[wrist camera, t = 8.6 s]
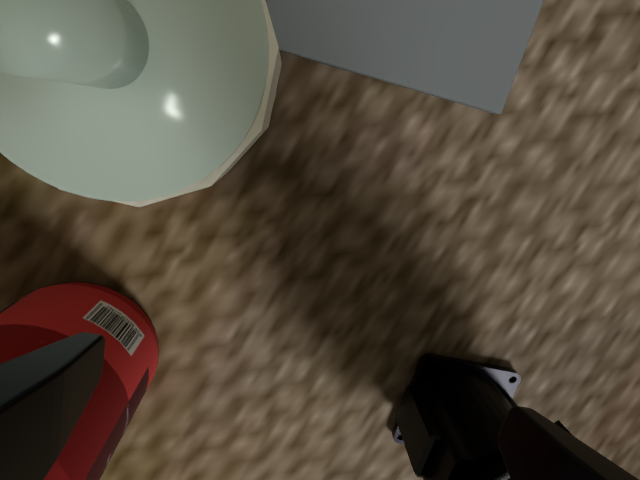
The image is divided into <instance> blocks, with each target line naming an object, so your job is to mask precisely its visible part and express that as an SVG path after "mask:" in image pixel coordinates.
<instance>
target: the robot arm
mask: <svg viewBox="0 0 640 480" xmlns="http://www.w3.org/2000/svg"><path fill="white" fill-rule="evenodd" d="M104 352H105V337H104V336H103V335H99V334H94V333H88V332H81V333H78V334H75V335H73V336H70V337H68V338H65V339H63V340H60V341H57V342H55V343H52V344H50V345H47V346H45V347H42V348H40V349H37V350H35V351H32V352H29V353H27V354H24V355H22V356H19V357H17V358H14V359H12V360H9V361H7V362H4V363H1V364H0V480H44V478H45V477H46V476H47V474H48V473H49V471H50V470H51V468H52V466H53V465H54V463H55V462H56V460H57V459H58V457H59V455H60V453H61V452H62V450H63V448H64V446H65V444H66V443H67V441H68V439H69V437H70V435H71V433H72V431H73V430H74V428H75V426H76V424H77V422H78V420H79V418H80V416H81V415H82V413H83V411H84V409H85V407H86V405H87V403H88V401H89V400H90V398H91V396H92V394H93V392H94V390H95V388H96V386H97V385H98V383H99V380H100V378H101V375H102V370H103V361H104ZM429 361H432V362H431V363H430V364H426V363H427V362H429ZM512 376H513V377H512ZM510 377H512V378H511V379H510ZM520 380H521V377H520V375H519V374H518V373H517V372H516V371H515V370H514V369H510V368H504V367H499V366H494V365H488V364H483V363H478V362H472V361H467V360H462V359H456V358H451V357H446V356H440V355H435V354H425V355H423V356H422V357H421V358H420V361H419V363H418V366H417V368H416V371H415V374H414V376H413V379H412V381H411V384H409V385H408V386H407V388H406V391H405V394H404V396H403V399H402V402H401V404H400V407H399V409H398V412H397V415H396V423H395V426H394V428H393V431H392V435H393V438H394V441H395V442H396V443H400V444H405V447H406V450H407V453H408V456H409V459H410V462H411V465H412V467H413V470H414V472H415V474H416V475H417V477H423V479H424V480H639V479H637V478H636V477H634V476H633V475H631V474H630V473H628V472H627V471H625V470H624V469H622V468H621V467H619V466H618V465H616V464H615V463H613V462H612V461H610V460H609V459H607V458H606V457H604V456H603V455H601V454H600V453H598V452H597V451H595V450H594V449H592V448H590V447H589V446H587V445H586V444H584V443H583V442H581V441H580V440H578V439H577V438H575V437H574V436H573V435H572V434H571V433H570V432H569V431H568V430H567V429H566V428H565V427H564V426H563V425H562V424H561V422H560V421H559V420H558V421H556V422H555V423H553V422H551V421H550V420H548V419H547V418H545V417H544V416H542V415H541V414H539V413H538V412H536V411H535V410H533V409H531V408H526V407H520V406H518V405H517V404H516V403H515V402H514V400H513V399H512V397H513V395H514V393H515V391H516V389H517V387H518V384H519V382H520ZM400 434H401V435H400Z"/></svg>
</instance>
